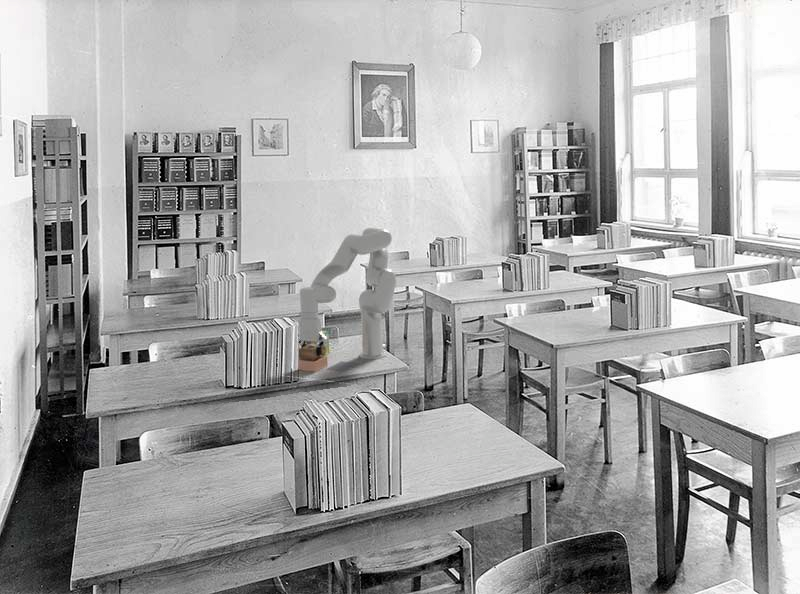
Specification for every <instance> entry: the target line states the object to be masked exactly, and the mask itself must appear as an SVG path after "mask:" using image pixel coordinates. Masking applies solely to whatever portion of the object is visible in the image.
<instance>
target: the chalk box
mask: <svg viewBox="0 0 800 594" xmlns="http://www.w3.org/2000/svg"><path fill="white" fill-rule="evenodd" d="M322 334H323V335H324V336H325V337H326V338H327V340H326V342H325V343H324V344H323V345H325V354H323V355H321V356H327V357H328V355H329V354H330V337H329V336H330V335H329V330H322ZM322 340H323V339H321V342H322ZM311 343H312V344H316V343H315V342H308V341H306V343H305V344H306V345H309V344H311Z"/></svg>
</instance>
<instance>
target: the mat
mask: <svg viewBox="0 0 800 594" xmlns="http://www.w3.org/2000/svg"><path fill="white" fill-rule="evenodd" d="M361 363H362V362H361ZM361 363H360V362H352V361H342V360H341V361H339V362H337V363H336V364H334V365H332V366H330V367H328V368H326V369H325V370H329V371H336V372H348V371H350V370H352V369H353V368H355V367H357V366H358V365H360V364H361Z"/></svg>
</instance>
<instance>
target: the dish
mask: <svg viewBox="0 0 800 594" xmlns="http://www.w3.org/2000/svg"><path fill="white" fill-rule="evenodd" d="M298 359H299V370H298V371H303V372H313V373H317V372H319V371H321V370H323V369H324V368H326V367H328V366H329V364H328V363H329V361H328V355H327V356H318V357H316V358H314V359H312V360H310V359H301V358H298Z"/></svg>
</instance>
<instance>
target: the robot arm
mask: <svg viewBox="0 0 800 594" xmlns="http://www.w3.org/2000/svg"><path fill="white" fill-rule="evenodd" d="M392 240H393V237H392V234H391V232H390V231H388V230H387V229H385V228H384V229H383V228H377V227H368V228H365V229H364V230H363V231H362V234H361V235H360V234H348V235H347V236H346V237H345V238H344V239H343V241H342V243H341V244H340V246H339V248H338V249H337V250H336V252H335V254H334V255H333V258H332V259H331V261H330V262H328V264H327V265H325V266H324V267H323V268H322V269H321V270H320V271H319V272H318V273H317V275H316V276H315V278H314V280H313V281H312V283H311V284H310V286H305V287H302V288H301V289H300V291H299V298H300V311H299V312H298V315H299V316H300V318H299V321H298V327H299V326H300V339H299V340H300V341H299V342H298V344H299V345H300V348H302V347H304V346H307V345H306V341H308V342H315V343H316V345H317V347H316V349H317V356H320V355H321V354H322V346H323V344H324V343H325V342H326V340H327V338H326V337H325V336H324V335H323V334H322V331H323V327H322V322H321V319H320V317H319V304H322V303H323V304H326V303H327V304H328V303H331V302H333V301H334V300H335V299H336V297H337V291H336V290H335V288H334V287H333V286H331V285H330V283H331V282H332V281H333V280H334V279H335V278H336V277H339V276H342V275H343V274H345V273H347V272H348V271H349V270H350V268H351V267H352V264H353V263H354V261H355V259H356V258H357V256H358V255H361V256H362V255H369V261H368V266H367V271H366V277H365V280H366V283H367V285H368V286H370V287H372V288H376V289H375V290H374V289H365V290H364V291H362V292H361V293H360V295H359V297H358V304H359V309H360V317H361V341H362V342H361V343H362V349H361V350H362V352H360V353H359V354H358V355H359V357H360V358H361V359H365V360H378V359H379V360H380V359H382V358H385V357H387V352H385V351H384V350H383V349H385V348H386V344H384V343H383V317H382V314H385V313H387V312H388V311H390V308H391V307H392V304H393V299H394V293H395V289H396V284H397V278H396V277H397V276H396V275H395V272H394V271H393V270H392V269H390V268H388V264H389V263H388V261H389V252H388V249H387V248H388V247H389V246H390V245H391V243H392ZM321 339H323V340H322V342H321Z"/></svg>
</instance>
